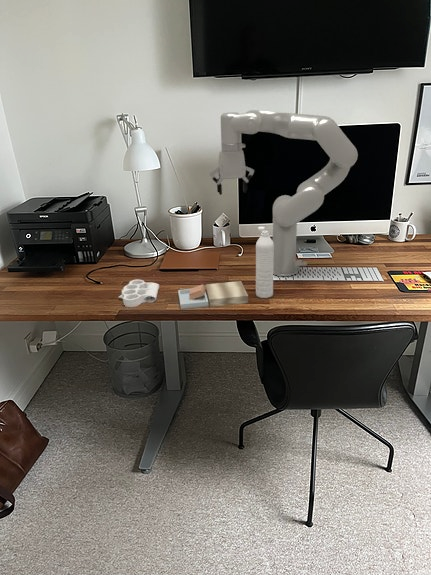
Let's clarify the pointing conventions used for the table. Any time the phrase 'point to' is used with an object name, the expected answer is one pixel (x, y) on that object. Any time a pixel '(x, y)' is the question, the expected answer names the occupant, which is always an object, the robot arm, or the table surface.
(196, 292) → the terracotta tile
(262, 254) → the water bottle
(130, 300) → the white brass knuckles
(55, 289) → the table surface
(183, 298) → the box
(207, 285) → the birch plate
